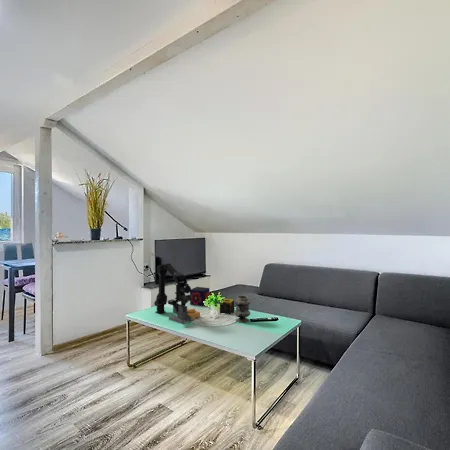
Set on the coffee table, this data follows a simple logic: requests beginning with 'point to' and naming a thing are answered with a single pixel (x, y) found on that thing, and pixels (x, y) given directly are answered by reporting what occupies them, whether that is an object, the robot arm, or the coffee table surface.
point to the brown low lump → (193, 313)
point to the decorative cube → (198, 295)
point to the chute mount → (180, 318)
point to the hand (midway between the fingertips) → (180, 311)
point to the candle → (227, 306)
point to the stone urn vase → (242, 308)
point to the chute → (181, 310)
